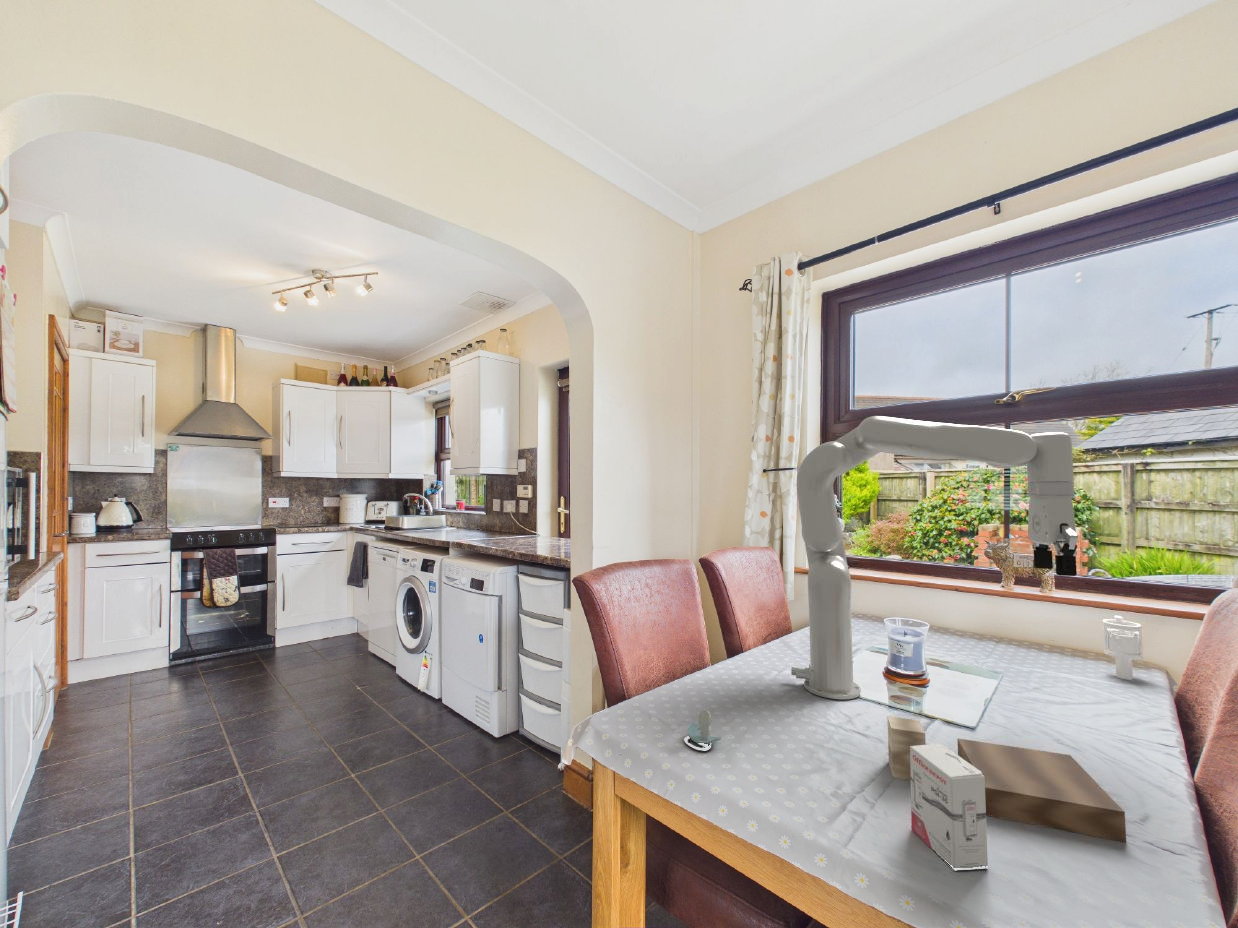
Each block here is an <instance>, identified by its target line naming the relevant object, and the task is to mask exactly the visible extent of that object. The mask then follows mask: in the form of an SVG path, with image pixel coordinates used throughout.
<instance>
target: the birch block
mask: <svg viewBox="0 0 1238 928" xmlns="http://www.w3.org/2000/svg"><path fill="white" fill-rule="evenodd" d="M887 741H888V743H887V744H888V745H887V748H888V749H887V750H888V765H889V768H890V771H891V775H892V776H891V777H892V778H898V779H902V780H909V781H911V767H910V746H916V745H927V743H926V732H925V730H924V726H922V722H921V721H920V720H919V719H912V718H907V717H906V718H905V717H897V716H891V715H887Z"/></svg>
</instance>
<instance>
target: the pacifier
mask: <svg viewBox="0 0 1238 928" xmlns="http://www.w3.org/2000/svg"><path fill="white" fill-rule="evenodd" d="M711 723H712V714H711V712H710V711H709V710H708V709H705V708H703V709H701V710H700V712H699V713H698V723H697V722H693V723H689V725H688V727H687V735H689V737H690V738H691V739H690V740H692V741H693V742H695V743H696V742H697V743H704V744H708V746H709V745H710V743H712V744H713V743H717V742H718V741H721V740H722V736H712V735H710V725H711ZM697 743H696V744H697ZM704 748H705V747H704Z"/></svg>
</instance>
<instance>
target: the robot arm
mask: <svg viewBox="0 0 1238 928" xmlns="http://www.w3.org/2000/svg"><path fill="white" fill-rule="evenodd" d="M879 453H884V454H885V453H886V454H891V455H901V456H905V457H912V458H918V459H926V460H938V461H939V460H962V461H963V460H965V461H966V460H967V461H976V462H982V463H985V464H987V465H988V466H990V467H993V468H996V469H1010V468H1016V467H1026V475H1027V495H1028V498H1029V504H1028V514H1027V515H1028V516H1027V519H1028V520H1027V523H1028V525H1027V529H1028V530H1027V537H1028V540H1029V541H1030V542H1032V543H1033V544H1032V549H1033V567H1034V568H1035V569H1041V570H1042V569H1044V570H1045V569H1046V570H1052V569H1053V568H1054V564H1053V563H1054V562H1053V550H1051V546H1052V545H1053V547H1054V549H1055V552H1056V554H1055V556H1054V558H1055V575H1056V576H1063V577H1064V576H1065V577H1066V576H1067V577H1069V576H1070V577H1076V576H1077V575H1078V573H1077V556H1078V555H1077V553H1078V552H1077V549H1078V545H1077V544H1078V540H1079V537H1078V534H1077V532H1076V531H1077V529H1076V519H1075V511H1074V505H1073V498H1076V497H1075V482H1074V462H1073V461H1074V460H1073V441H1072V437H1071V436H1070V434H1068V433H1065V432H1041V433H1034V434H1031V435H1029V434H1028V433H1026V432H1023V431H1020V430H1014V429H1008V428H1007V429H1006V428H1000V427H999V428H998V427H990V426H980V425H971V424H970V425H968V424H954V423H947V422H946V423H945V422H934V421H924V420H914V419H909V418H908V419H906V418H900V417H899V418H898V417H891V416H883V415H873V416H868V417H866V418H864V419H863V420H862V421H861V422H860V424H859V425H858V426H857V427H855V428H853V429H852V430H850V431H849V432H847V433H846V434H844V435H843V436H841V437H839V438H837V439H836V440H834V441H827V442H824V443H822V444H820V445H818V446H816V447H815V448H813V450H811V451H810V452H809V453H808V454H807V455H806V456H805V457H804V459H803V460H802V462H801V463H800V466H799V468H798V471H797V475H796V492H797V500H798V508H799V509H798V511H799V517H800V521H801V522H800V523H801V536H802V539H803V542H804V546H805V551H806V558H807V559H806V560H807V563H808V572H807V573H808V574H807V593H808V623H809V625H808V627H809V628H808V629H809V657H810V658H809V662H810V664H808V667H806V666H805V667H804V668H800V667H796V666H794V667H793V666H791V668H790V669H791V676H795V678H796V679H800V680H802V679H803V685H804V689H805V690H806V691H807V692H809V693H811V694H813V695H816V696H819V697H821V698H825V699H832V700H845V701H846V700H853V699H856V698H858V697H860V696H861V694H860V693H862V691H861V690H862V689H861V687H860V685H858V684H857V683H856V682H854V665H853V664H854V663H853V662H854V661H853V658H854V657H853V626H852V579H851V578H852V577H851V573H850V570H849V567H848V566H849V565H848V560H847V554H846V549H845V542H844V537H843V529H842V526H841V523H840V521H839V517H838V512H837V506H836V498H835V492H834V483H835V480H836V478H837V477H841V476H842V475H844V474H846V473H847V472H849V471H851V470H853V469H854V468H856V467H858V466H860V465H861V464H862V463H865V462H866V461H869V459H871V458H873V457H874V456H876V455H878V454H879ZM859 695H860V696H859Z"/></svg>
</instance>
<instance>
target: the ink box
mask: <svg viewBox="0 0 1238 928" xmlns="http://www.w3.org/2000/svg"><path fill="white" fill-rule="evenodd" d="M910 767H911V780H910V814H911V815H910V817H911V818H910V820H911V823H910V824H911V825H910V826H911V827H910V828H911V830H912V831H913V832H914V833H915V834H918V835H917V836H918V837H919V836H920V837H921V838H922V839H923V840H924V841H925V842H926V843H927V844H928V845H929V846H930V847H929V846H928V845H927V844H926V843H925V842H924V841H923V840H922V839H921V838H920V837H919V838H920V839H921V840H922V841H923V842H924V843H925V844H926V845H927V846H928V847H929V848H930V849H931V850H932V851H933V850H935V851H936V852H937V853H938V854H939V855H940V856H941V857H942V858H943V859H944V860H946V861H947V862H948V863H949V864H950V865H952V866H953V868H973V867H979V866H980V867H982V866H985V867H986V866H988V867H989V862H988V859H989V858H988V835H987V834H988V832H987V815H986V803H985V779H984V775H983V774H982V772H981V771H980V770H978V769H977V768H975V767H974V766H973V765H971V764H970V763H968V762H967V761H965V760H964V759H962V758H961V757H960V756H958V753H955V752H953V750H951V749H950V748H948V747H947V746H945V745H943V744H942V743H930V744H926V745H916V746H910Z"/></svg>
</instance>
